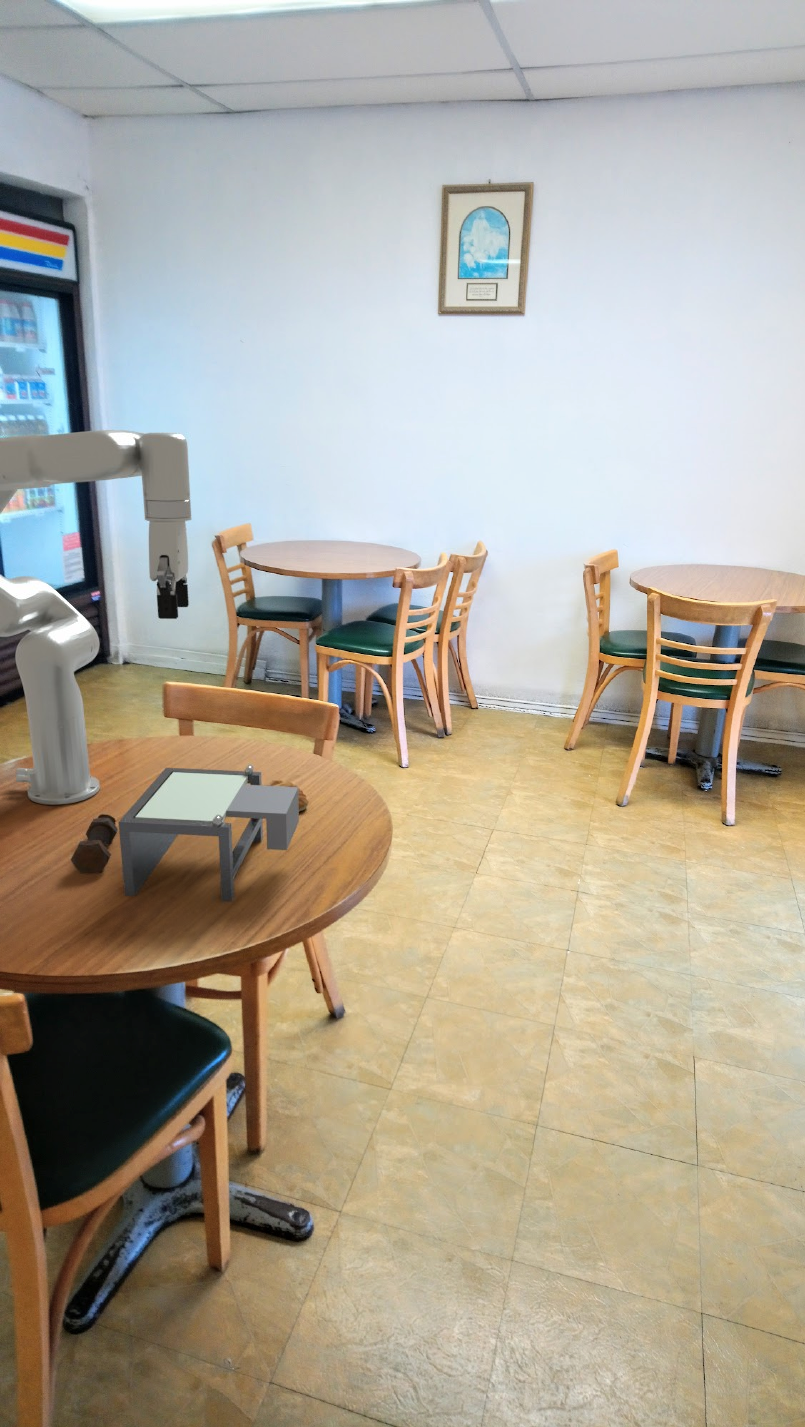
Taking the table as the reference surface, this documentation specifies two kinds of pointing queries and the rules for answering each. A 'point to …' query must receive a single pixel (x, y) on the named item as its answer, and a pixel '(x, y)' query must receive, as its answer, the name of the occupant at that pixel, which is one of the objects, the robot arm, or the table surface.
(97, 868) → the bolt
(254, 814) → the trapdoor
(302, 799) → the pastry
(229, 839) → the frame
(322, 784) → the table surface
